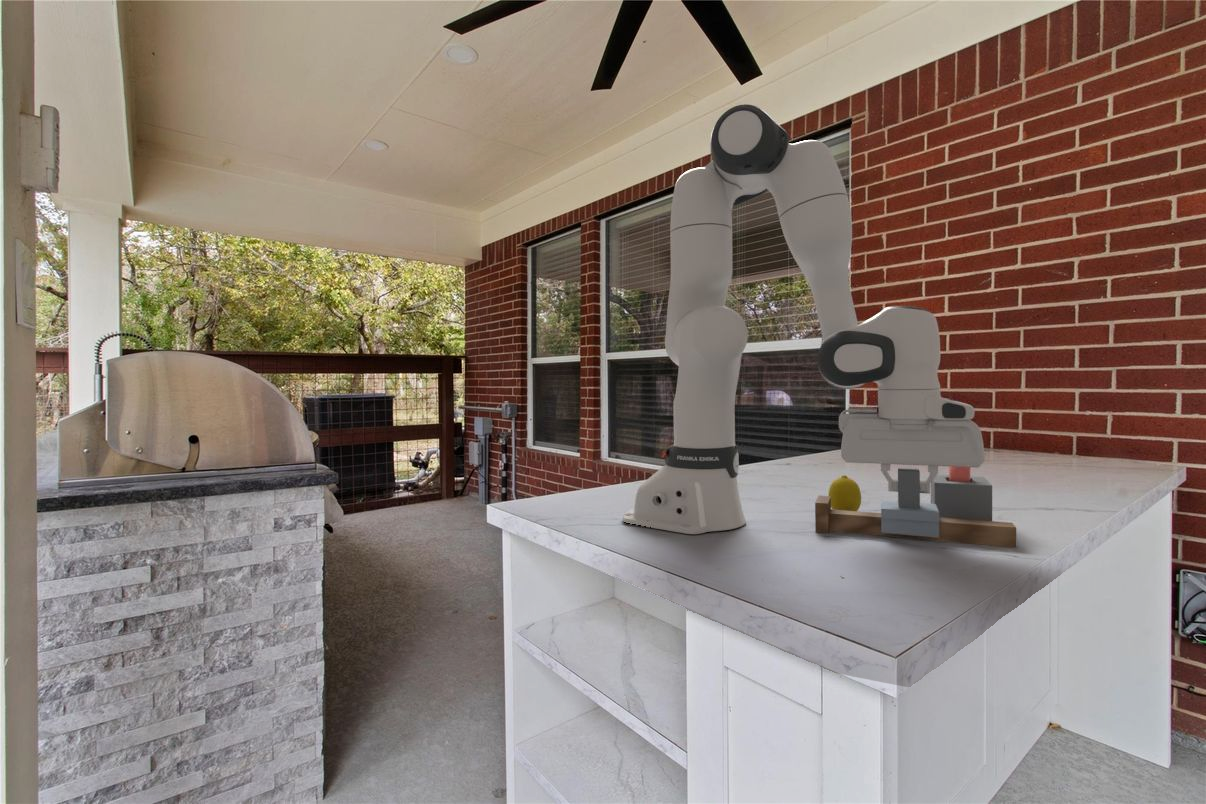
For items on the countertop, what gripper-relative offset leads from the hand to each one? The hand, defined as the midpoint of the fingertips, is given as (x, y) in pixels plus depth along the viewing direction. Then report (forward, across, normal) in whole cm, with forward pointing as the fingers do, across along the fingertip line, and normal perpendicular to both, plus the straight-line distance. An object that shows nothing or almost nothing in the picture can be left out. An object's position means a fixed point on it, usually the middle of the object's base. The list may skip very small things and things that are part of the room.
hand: (908, 492), depth 90 cm
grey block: (+7, +8, +9) cm, 14 cm away
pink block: (+2, +8, +9) cm, 12 cm away
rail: (+7, +1, 0) cm, 7 cm away
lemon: (+7, -10, +8) cm, 15 cm away
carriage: (+7, 0, 0) cm, 7 cm away
